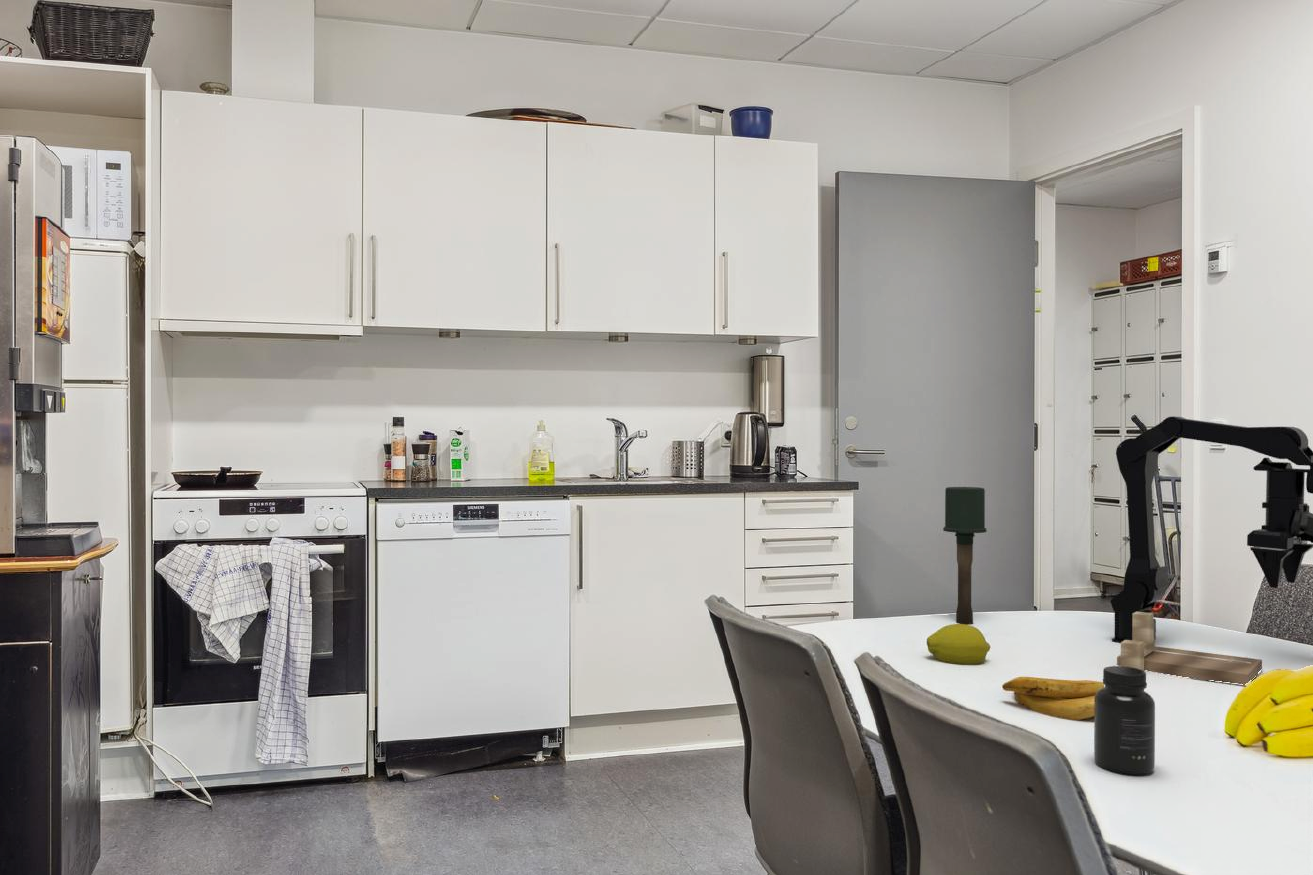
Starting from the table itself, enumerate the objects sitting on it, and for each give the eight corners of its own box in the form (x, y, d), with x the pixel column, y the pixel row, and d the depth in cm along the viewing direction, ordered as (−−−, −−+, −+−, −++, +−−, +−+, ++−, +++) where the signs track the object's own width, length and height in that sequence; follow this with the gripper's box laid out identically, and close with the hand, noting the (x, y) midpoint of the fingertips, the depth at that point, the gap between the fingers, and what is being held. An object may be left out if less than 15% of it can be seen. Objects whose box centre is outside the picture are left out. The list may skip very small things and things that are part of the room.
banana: (1153, 729, 141) (1154, 688, 141) (1013, 724, 143) (1013, 684, 143) (1116, 700, 156) (1117, 663, 156) (990, 696, 158) (990, 660, 158)
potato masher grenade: (986, 630, 210) (986, 487, 210) (985, 638, 202) (986, 489, 201) (944, 627, 212) (944, 486, 212) (941, 635, 204) (942, 488, 204)
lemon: (987, 666, 178) (987, 621, 178) (994, 676, 170) (994, 629, 170) (924, 663, 179) (924, 619, 179) (928, 673, 172) (928, 627, 172)
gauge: (1120, 671, 172) (1120, 619, 172) (1140, 658, 183) (1141, 608, 183) (1139, 674, 170) (1139, 621, 170) (1158, 660, 181) (1159, 610, 181)
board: (1117, 668, 176) (1117, 656, 176) (1137, 654, 187) (1138, 643, 187) (1247, 686, 163) (1247, 673, 163) (1262, 671, 174) (1262, 659, 174)
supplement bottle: (1083, 758, 127) (1083, 664, 127) (1135, 757, 128) (1135, 663, 128) (1112, 777, 120) (1113, 677, 120) (1166, 775, 121) (1167, 676, 121)
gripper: (1321, 502, 166) (1319, 597, 166) (1353, 498, 178) (1351, 585, 178) (1247, 498, 174) (1244, 588, 174) (1282, 494, 186) (1280, 578, 186)
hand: (1282, 585), depth 178 cm, fingers open, 9 cm apart
